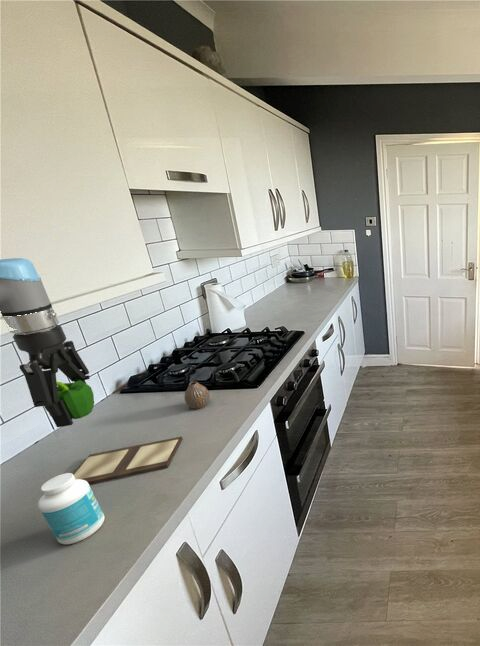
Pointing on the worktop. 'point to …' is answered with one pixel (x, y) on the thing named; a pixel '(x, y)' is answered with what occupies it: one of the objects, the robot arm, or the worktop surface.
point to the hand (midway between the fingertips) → (76, 414)
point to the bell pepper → (76, 398)
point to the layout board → (128, 461)
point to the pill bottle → (70, 508)
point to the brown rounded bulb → (196, 395)
